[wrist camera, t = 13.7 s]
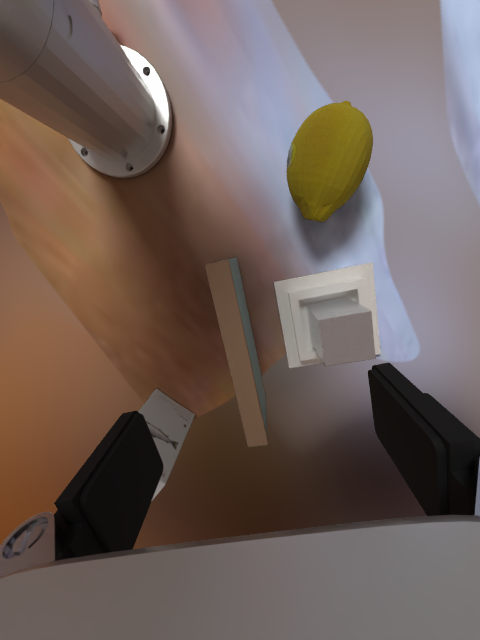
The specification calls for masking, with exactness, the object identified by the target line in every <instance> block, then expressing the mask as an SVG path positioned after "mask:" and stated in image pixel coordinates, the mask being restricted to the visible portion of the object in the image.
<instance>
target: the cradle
mask: <svg viewBox="0 0 480 640" xmlns="http://www.w3.org/2000/svg"><path fill="white" fill-rule="evenodd" d="M274 286H275V292H276V298H277V303H278V309H279V314H280V320H281V325H282V331H283V337H284V342H285V348H286V353H287V359H288V365H289V368H294V367H301V366H308V365H313V364H320V363H323V362H322V360H321V358H320V356H319V355H318V353H317V351H316V349H315V347H314V345H313V343H312V342H311V338H310V332H309V325H308V318H307V311H306V305H305V304H308V303H314V302H319V301H325V300H330V299H336V298H341V297H347V298H349V299H351V300H353V301H354V302H356V303H358V304H360V305H362V306H363V307H365V308H367V309H369V310H371V311H372V323H373V334H374V346H375V355H378V354H381V353H380V342H379V330H378V318H377V307H376V295H375V283H374V272H373V263H366V264H361V265H356V266H351V267H346V268H341V269H336V270H331V271H326V272H321V273H316V274H311V275H306V276H301V277H296V278H291V279H286V280H281V281H276V282H274Z"/></svg>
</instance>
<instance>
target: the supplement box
mask: <svg viewBox="0 0 480 640" xmlns="http://www.w3.org/2000/svg"><path fill="white" fill-rule="evenodd" d="M138 412H139V413H140V414H143V416H144V418H145V420H146V423H147V425H148V427H149V430H150V432H151V435H152V437H153V439H154V442H155V444H156V447H157V449H158V451H159V454H160V456H161V459H162V461H163V465H164V468H163V473H162V476H161V478H160V481H159V483H158V486H157V488H156V491H155V493H154V496H153V498H152V500H153V499H154V498H155V497H156V495H157V494H158V493H159V492H160V491H161V489H162V488H163V487H164V486H165V484H166V482H167V480H168V477H169V475H170V473H171V470H172V468H173V466H174V463H175V461H176V459H177V457H178V454H179V452H180V449H181V447H182V445H183V442H184V440H185V438H186V435H187V433H188V431H189V428H190V426H191V424H192V421H193V419H194V417H195V414H194V413H192V412H190V411H189V410H187V409H186V408H184V407H183V406H181V405H180V404H178V403H177V402H175V401H174V400H172V399H171V398H170V397H168V396H167V395H165V394H164V393H162V392H161V391H160V390H158V389H155V390H154V392H153V393H152V394H151V396H150V397H149V398H148V400H147V401H146V402H145V403H144V405H143V406H142V408H141V409H140V410H139V411H138Z"/></svg>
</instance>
